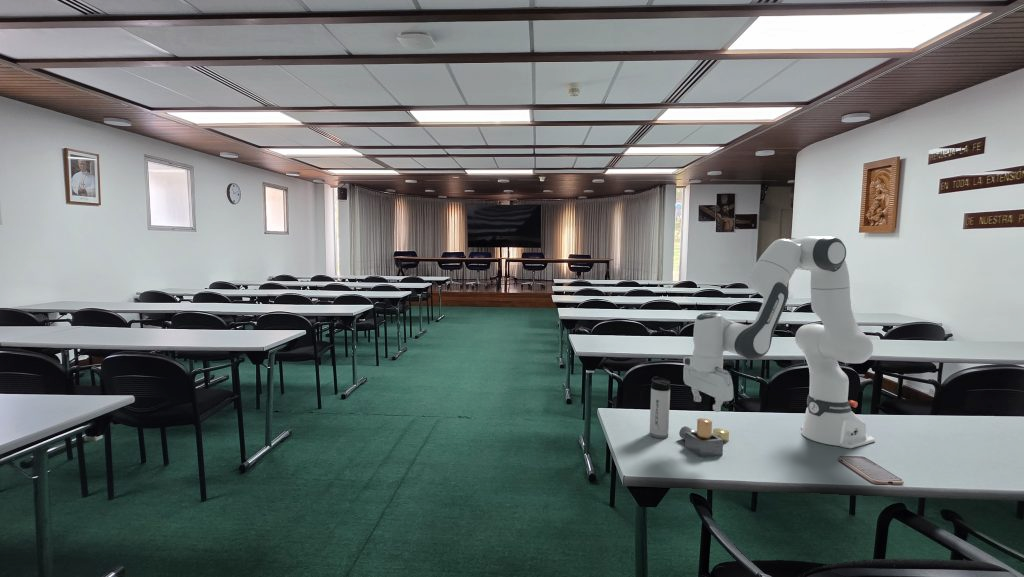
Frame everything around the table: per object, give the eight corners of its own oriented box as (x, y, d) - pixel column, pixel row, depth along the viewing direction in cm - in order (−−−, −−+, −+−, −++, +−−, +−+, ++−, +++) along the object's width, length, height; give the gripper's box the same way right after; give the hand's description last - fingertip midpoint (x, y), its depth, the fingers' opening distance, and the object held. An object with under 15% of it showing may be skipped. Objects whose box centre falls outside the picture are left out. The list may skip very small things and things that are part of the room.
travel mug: (660, 430, 167) (662, 375, 166) (672, 437, 161) (674, 380, 160) (645, 432, 166) (647, 377, 164) (656, 439, 159) (658, 382, 158)
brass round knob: (721, 436, 163) (722, 427, 163) (731, 441, 158) (732, 433, 158) (709, 437, 162) (709, 429, 162) (719, 443, 157) (719, 434, 157)
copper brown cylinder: (704, 447, 153) (706, 417, 152) (713, 453, 149) (715, 422, 148) (693, 448, 152) (694, 418, 151) (701, 454, 148) (703, 423, 147)
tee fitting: (694, 437, 161) (695, 423, 161) (722, 454, 148) (723, 439, 147) (674, 439, 159) (675, 425, 159) (700, 457, 146) (701, 441, 145)
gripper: (739, 371, 139) (738, 416, 140) (696, 356, 159) (695, 395, 160) (721, 372, 137) (720, 418, 139) (680, 357, 157) (679, 397, 158)
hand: (706, 406), depth 149 cm, fingers open, 8 cm apart
